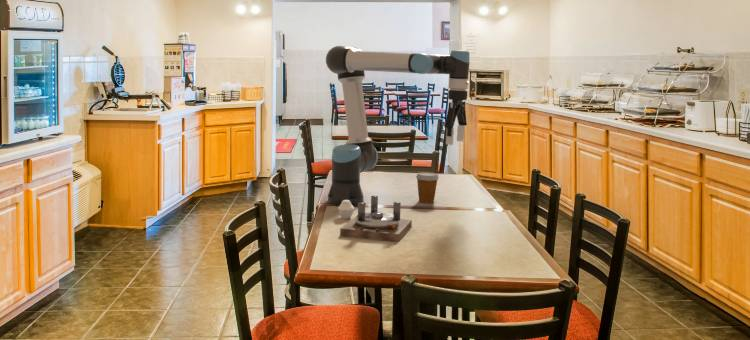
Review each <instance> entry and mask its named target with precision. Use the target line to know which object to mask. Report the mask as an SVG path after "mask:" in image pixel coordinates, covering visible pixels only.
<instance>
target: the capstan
mask: <svg viewBox="0 0 750 340" xmlns="http://www.w3.org/2000/svg"><path fill="white" fill-rule="evenodd" d="M378 201H379V195H371V196H370V212H366V202H364V201H363V202H359V203H358V204H357V215H355V217H356V221H355V223H356V225H358V226H360V227H364V228H370V229H377V228H379V229H388V228H395V227H397V226H398V225H399V220H400V219H401V208H402V207H401V206H402V205H401V204H402V202H399V201H394V202H393V207H392V208H393V212H392V213H386V212H382V211H378V209H379V208H378V206H379V202H378Z"/></svg>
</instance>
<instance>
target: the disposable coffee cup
mask: <svg viewBox="0 0 750 340" xmlns="http://www.w3.org/2000/svg"><path fill="white" fill-rule="evenodd" d="M415 178H416V180H417V181H416V183H417V190H418V191H417V192H418V202H420V203H422V204H423V203H424V204H431V203H434V202H435V198H436V190H437V184H438V181H439V175H438V173H436V172H430V171H423V172H422V171H421V172H417V173H416V176H415Z"/></svg>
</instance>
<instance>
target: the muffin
mask: <svg viewBox="0 0 750 340" xmlns="http://www.w3.org/2000/svg"><path fill="white" fill-rule="evenodd" d="M337 210H338V213H339V215H340V217H341V218H342V219H344V220H345V219H347V220H348V219H351V217H352V215H353V214H354V211H355V207H354V205H352V204H351V202H350V201H349V200H343V201H342V203H341V205H339V206H338V207H337Z"/></svg>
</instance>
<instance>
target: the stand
mask: <svg viewBox="0 0 750 340" xmlns="http://www.w3.org/2000/svg"><path fill="white" fill-rule="evenodd" d="M355 221H356V216H355V217H354V218H352V219H351V220H350V221H348V222H347V223H346V224H344V225H343V226H342V227H340V229H339V236H340V237H346V238H359V239H367V240H375V241H377V240H378V241H386V242H396V243H397V242H398V243H399V242H400V240H401V239H402V238H403V237H404V236H405V235H406V234H407V233H408V232H409V230H410V229H411V228H412V227H413V226H412V225H413V224H412V223H413V220H412V219H403V218H400V220H399V225H398V226H397V227H395V228H388V229H379V228H377V229H370V228H364V227H360V226H358V225H356V223H355Z"/></svg>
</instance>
